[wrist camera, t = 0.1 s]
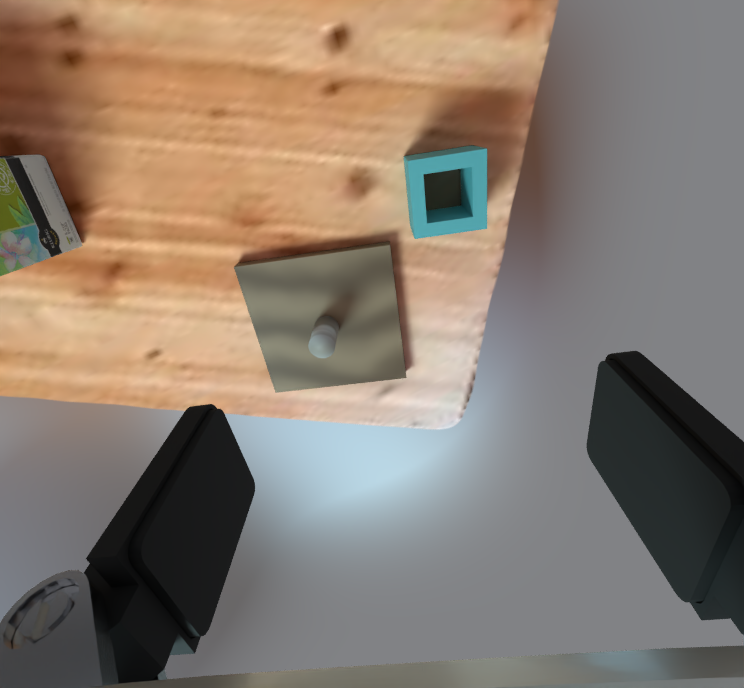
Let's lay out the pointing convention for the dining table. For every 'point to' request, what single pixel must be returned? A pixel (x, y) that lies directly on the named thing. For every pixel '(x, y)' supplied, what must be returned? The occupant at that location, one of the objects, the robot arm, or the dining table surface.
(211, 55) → the dining table surface
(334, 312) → the post board
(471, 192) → the collar
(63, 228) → the tea box
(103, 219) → the dining table surface
